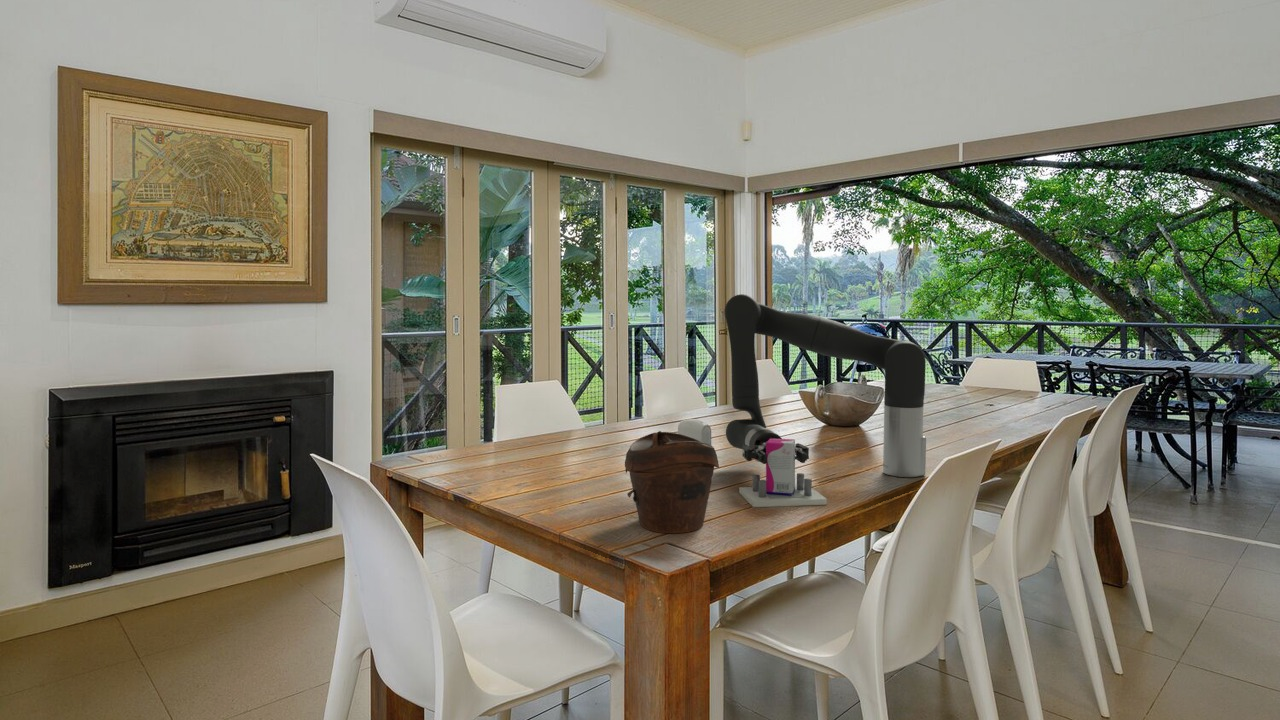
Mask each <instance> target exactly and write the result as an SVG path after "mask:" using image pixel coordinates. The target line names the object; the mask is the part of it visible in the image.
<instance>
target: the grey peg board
mask: <svg viewBox="0 0 1280 720" xmlns="http://www.w3.org/2000/svg"><path fill="white" fill-rule="evenodd" d="M812 481H813V480H812V478H807V477H806V478H805V473H800V472H797V473H796V485H795V491H794V493H793V495H792V496H787V495H773V494H766V479H761V475H760V474H752V486H742V487H741V486H740V487H739V494H740V495H741V496H742V497H743V499H745V500H746V502H747V503H748V504H750V505H751V507H752V508H762V507H763V508H765V507H770V508H771V507H793V506H795V507H796V506H819V505H820V506H823V505H824V506H825V505H827V502H828V499H827V498H826V497H825V496H823V495H822V494H821V493H820V492H818V491H816V489H814V488H812V486H813V485H812V484H813V482H812Z"/></svg>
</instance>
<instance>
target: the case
mask: <svg viewBox="0 0 1280 720" xmlns="http://www.w3.org/2000/svg"><path fill="white" fill-rule="evenodd" d="M624 467H625V474H627V473H628V472H629V477H630V483H631V487H632V489H631V490H630V491H628V493H627V497H628V498H631V496H632V495H633V496H632V500H633V502H635V503H634V504H635V507H636V511H637V516H638V517H637V518H638V520H639V523H640V526H641V527H642V528H645V530H648V531H652V532H653V533H661V534H682V533H683V534H684V533H689V532H690V533H691V532H693V531H696V530H698V529H700V528H701V527H702V526H703V525H704V523H705V517H706V512H707V508H708V502H709V497H710V492H711V488H712V482H713V475H714V470H715V468H718V469H720V465H719V459H718V454H717V452H716V450H715V448H714V447H713V445H712V444H711V445H708V444H706V443H703V442H701V441H699V440H696V439H694V438H691V437H688V436H685V435H682V434H678V432H677V433H676V432H672V431H671V432H668V431H661V430H658V431H657V432H652V433H649V434H646V435H644V436H641V437H640V438H638V439H637V440H635V441H634V442H632V444H631V445H630V446H629V448H628V451H626V454H625V460H624Z"/></svg>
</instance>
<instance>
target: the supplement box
mask: <svg viewBox="0 0 1280 720" xmlns="http://www.w3.org/2000/svg"><path fill="white" fill-rule="evenodd" d="M795 440H796V439H792V438H791V439H790V438H782V439H769V440H768V441H767V442H766V454H767V464H765V480H766V494H773V495H787V496H792V495H793V493H794V491H795V486H796V459H795V456H796V455H795V444H796V441H795Z"/></svg>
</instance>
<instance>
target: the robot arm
mask: <svg viewBox="0 0 1280 720" xmlns="http://www.w3.org/2000/svg"><path fill="white" fill-rule="evenodd" d="M723 313H724V318H725V320H726V326H727V331H728V336H729V338H728V339H729V345H730V356H731V357H730V358H731V362H730V363H731V403H732V407H733V409H735V410H737V411H742V412H747V413H748V414H749V415H750V418H748V419H746V418H744V419H742V418H741V419H733V420H731V421H730V422H729V423H728V424H727V426H726V428H725V436H726V440H727V441H728V443H729V444H730V446H732V447H733V448H736V449H740V450H742V452H741V453H742V455H741V456H742V458H743V459H745V460H746V461H748V462H751V461H752V460H754V461H755V462H760V463H761V464H763V465H766V464H767V454H766V442H767V441H768V440H769V439H783V438H782V436H780V435H779V434H777V433H776V432H774V431H772V430H771V429H770V428H767V425H766V422H765V419H764V416H763V413H762V408H761V405H760V389H759V388H760V387H759V386H760V385H759V374H758V373H759V372H758V366H757V365H758V364H757V358H756V348H755V345H756V344H755V342H756V341H755V337H756V336H755V335H756V334H757V335H762V336H766V337H771V338H773V339H774V338H775V339H778V340H780V341H782V342H784V343H787V344H789V345H792V346H794V347H797V348H800V349H802V350H805V351H808V352H811V353H814V354H818V355H822V356H826V357H832V358H836V359H839V360H840V359H843V360H849V361H850V360H851V361H855V362H856V361H857V362H862V363H865V364H869V365H872V366H875V367H877V368H879V369H882V370H884V371H885V372H884V400H883V402H884V408H883V412H884V413H883V450H882V451H883V454H882V455H883V456H882V457H883V458H882V459H883V460H882V472H883V474H886V475H889V476H892V477H899V478H917V477H921V476H926V469H927V468H926V465H927V464H926V463H927V462H926V461H927V459H926V458H927V457H926V456H927V437H926V436H924V406H925V405H924V403H925V394H926V391H925V390H926V356H925V353H924V350H923V349H922V348H921V347H920V346H919V345H917V344H916V343H915V342H912V341H908V340H899V339H894V338H888V337H882V336H877V335H873V334H871V333H867V332H865V331H862V330H860V329H858V328H855V327H853V326H850V325H848V324H845V323H842V322H839V321H836V320H832V319H830V318H825V317H822V316H818V315H812V314H808V313H807V314H806V313H800V312H799V313H798V312H787V311H783V310H779V309H776V308H773V307H771V306H768V305H765V304H763V303H761V302H758V301H757V300H755V299H754V298H753V297H752V296H750V295H747V294H743V293H742V294H741V293H740V294H736V295H733V297H731V298H730V299H729V300H728V301H727V302H726V304H725V306H724V311H723ZM809 453H810V448H809V447H808V446H806V445H803V444H801V443H795V461H798V462H799V463H801V464H805V463H806V462H807V461H808V460H809V458H810V456H809Z"/></svg>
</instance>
